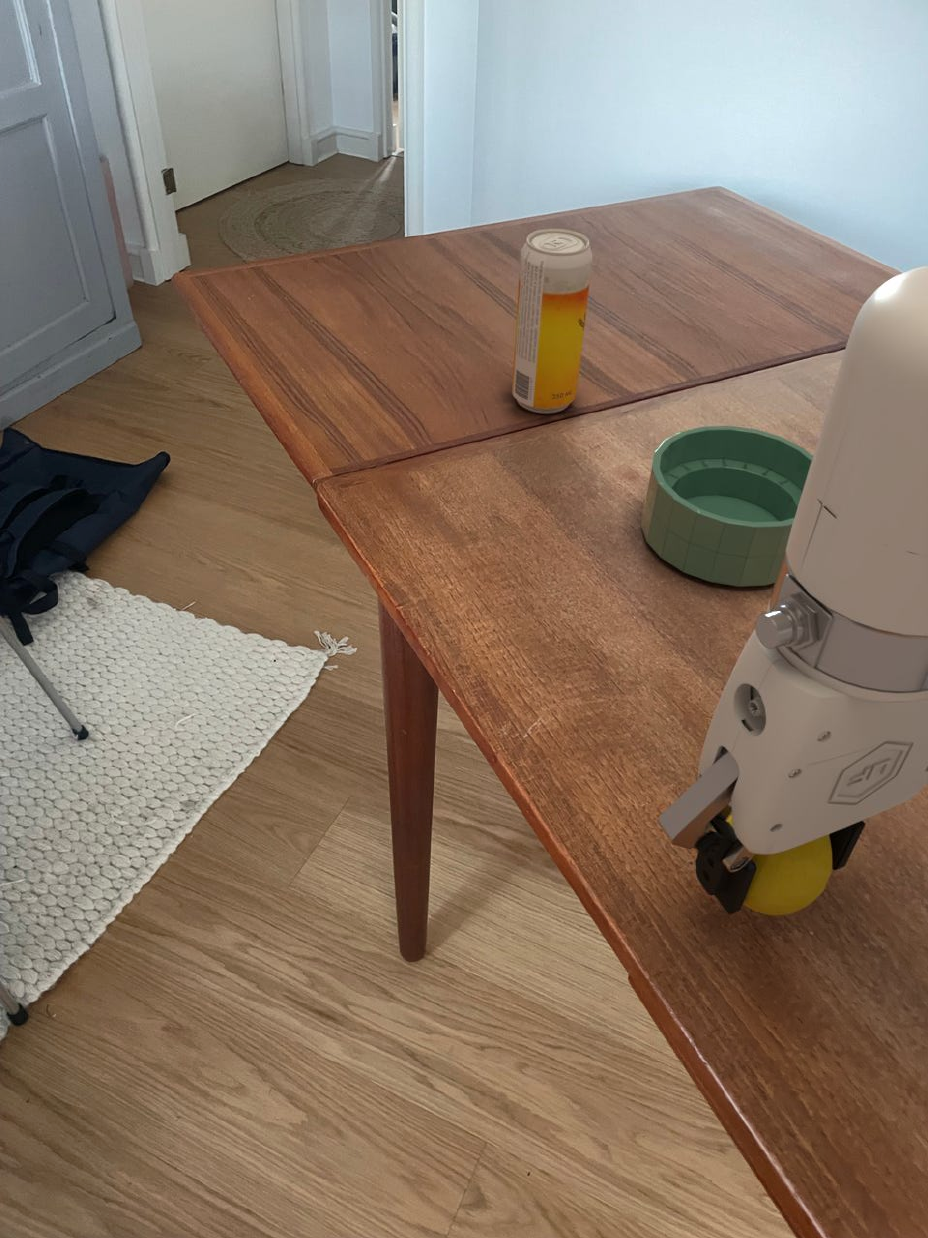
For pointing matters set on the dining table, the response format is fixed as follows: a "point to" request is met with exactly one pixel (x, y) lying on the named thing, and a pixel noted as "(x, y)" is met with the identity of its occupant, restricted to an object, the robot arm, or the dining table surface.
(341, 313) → the dining table surface
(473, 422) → the dining table surface
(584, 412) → the dining table surface
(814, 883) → the fruit
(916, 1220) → the dining table surface
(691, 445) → the green pet bowl
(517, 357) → the beer can
